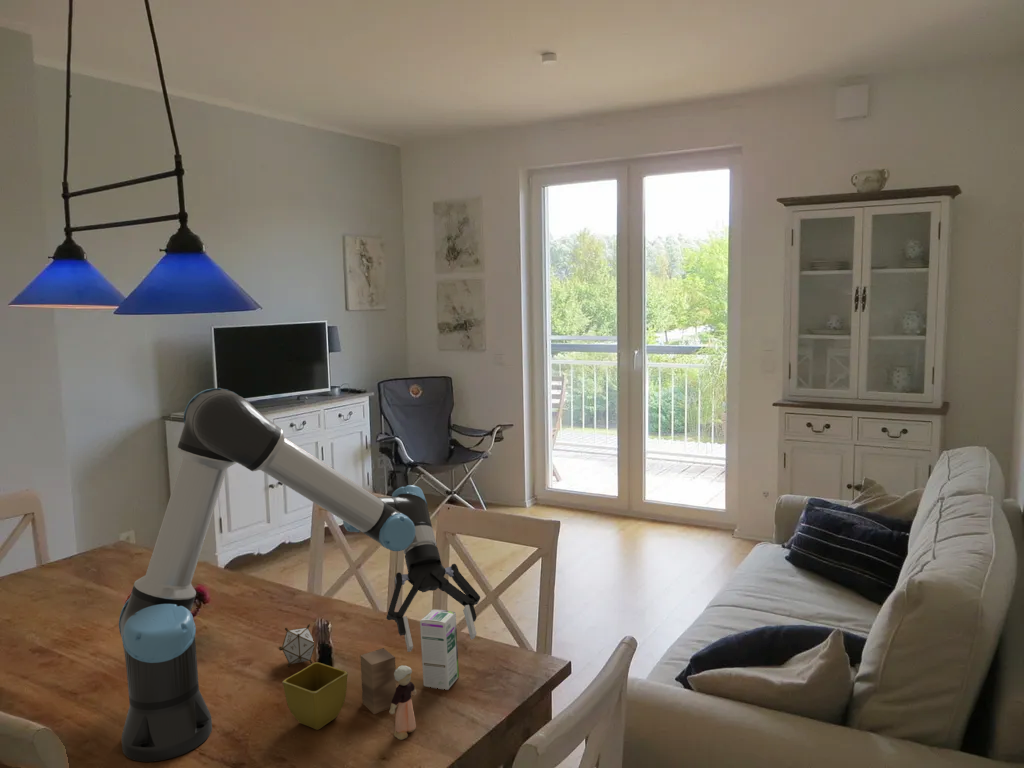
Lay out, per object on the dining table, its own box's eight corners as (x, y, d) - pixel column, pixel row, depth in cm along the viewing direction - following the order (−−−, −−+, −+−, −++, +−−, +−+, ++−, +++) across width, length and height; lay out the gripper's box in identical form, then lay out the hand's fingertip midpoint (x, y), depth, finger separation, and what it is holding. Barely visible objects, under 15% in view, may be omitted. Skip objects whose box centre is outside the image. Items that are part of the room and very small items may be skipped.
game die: (304, 682, 168) (304, 659, 162) (270, 666, 169) (269, 643, 163) (326, 647, 175) (326, 624, 168) (293, 632, 176) (292, 609, 169)
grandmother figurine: (407, 744, 137) (404, 677, 136) (387, 741, 138) (384, 674, 137) (423, 721, 145) (421, 657, 143) (404, 718, 146) (402, 655, 144)
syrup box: (448, 690, 156) (446, 622, 154) (422, 686, 158) (419, 619, 156) (459, 677, 161) (457, 611, 159) (433, 673, 163) (431, 608, 161)
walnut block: (374, 714, 148) (371, 664, 147) (362, 703, 152) (360, 655, 151) (397, 705, 151) (395, 657, 149) (385, 695, 155) (383, 647, 153)
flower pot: (317, 739, 140) (314, 692, 139) (283, 726, 144) (281, 680, 143) (351, 716, 147) (348, 671, 146) (318, 704, 152) (316, 661, 151)
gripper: (470, 550, 178) (494, 638, 166) (363, 567, 169) (380, 661, 157) (477, 534, 173) (502, 624, 161) (366, 551, 164) (385, 647, 152)
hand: (442, 643), depth 159 cm, fingers open, 13 cm apart
